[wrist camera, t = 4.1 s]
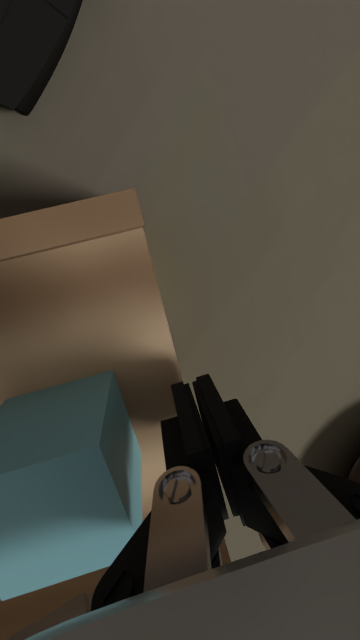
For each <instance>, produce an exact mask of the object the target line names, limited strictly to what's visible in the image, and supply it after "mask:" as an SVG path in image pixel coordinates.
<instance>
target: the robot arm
mask: <svg viewBox="0 0 360 640" xmlns="http://www.w3.org/2000/svg"><path fill="white" fill-rule="evenodd" d="M196 380H197V381H194V382H192V383H193V387H194V391H195V395H196V399H197V403H198V407H199V411H200V415H201V418H200V415H199V412H198V409H197V406H196V403H195V400H194V398H193V395H192V392H191V389H190V386H189V383H187V384H183V381H182V382H179V383H175V384H172V385H171V390H172V394H173V399H174V403H175V408H176V412H177V416H176V417H172V418H169V419H166V420H162V421H160V425H161V433H162V441H163V449H164V457H165V465H166V471H165V472H164V473H163V474H162V475H161V476H160V477H159V478H158V480H157V481H156V483H155V486H154V490H153V500H152V510H151V511H150V513H149V514H148V515H147V517H146V518H145V519H144V521H143V522H142V523H141V525H140V526H139V528H138V529H137V530H136V532H135V533H134V534H133V536H132V537H131V538H130V540H129V541H128V542H127V544H126V545H125V546H124V548H123V549H122V550H121V552H120V553H119V554H118V556H117V557H116V559H115V560H114V561H113V563H112V564H111V565H110V567H109V568H108V569H107V571H106V572H105V573H104V575H103V576H102V578H101V579H100V581H99V583H98V584H97V586H96V588H95V590H94V591H92V592H91V593H89V594H87V595H86V593H85V591H84V592H82V593H80V594H79V595H77V596H75V597H74V598H72V599H70V600H69V601H67V602H66V603H64V604H62V605H61V606H59V607H57V608H56V609H54V610H53V611H51V612H49V613H48V614H46V615H44V616H43V617H41V618H39V619H38V620H36V621H35V622H33V623H31V624H30V625H28V626H26V627H25V628H23V629H21V630H20V631H18V632H17V633H15V634H13V635H12V636H10V637H9V638H8V639H6V640H360V483H358V482H355V481H352V480H349V479H346V478H342V477H339V476H336V475H333V474H330V473H327V472H324V471H321V470H317V469H314V468H311V467H308V466H305V465H303V464H302V463H301V462H300V461H299V460H298V459H297V458H296V457H295V456H294V455H293V453H292V452H291V451H290V450H289V449H288V448H287V447H285V446H284V445H283V444H281V443H279V442H276V441H272V440H262V439H261V437H260V436H259V434H258V432H257V431H256V429H255V428H254V426H253V424H252V423H251V421H250V419H249V418H248V416H247V415H246V413H245V411H244V410H243V408H242V406H241V405H240V403H239V402H238V400H237V399H232V400H229V401H226V402H223V401H222V399H221V397H220V395H219V393H218V391H217V389H216V387H215V385H214V383H213V381H212V379H211V377H210V376H209V374H206V375H203V376H199V377H196ZM201 419H202V420H201ZM215 464H216V465H215ZM216 467H217V469H216ZM217 470H218V473H219V476H220V479H221V482H222V485H223V488H224V490H225V493H226V496H227V499H228V502H229V505H230V508H231V511H232V514H233V516H234V517H235V516H238V515H240V518H241V521H242V524H243V526H245V525H246V526H247V527H249V528H251V529H253V530H255V531H257V532H258V533H259V536H260V539H261V541H262V543H263V545H264V546H265V548H266V551H263V552H260V553H257V554H254V555H251V556H248V557H245V558H242V559H239V560H236V561H234V562H231V563H228V564H225V565H222V558H221V552H220V549H219V547H220V545H221V543H222V541H223V539H224V536H225V534H226V528H225V524H224V520H225V519H229V517H228V513H227V509H226V505H225V501H224V497H223V493H222V489H221V485H220V481H219V477H218V473H217Z"/></svg>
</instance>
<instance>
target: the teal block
mask: <svg viewBox="0 0 360 640" xmlns="http://www.w3.org/2000/svg"><path fill="white" fill-rule="evenodd" d="M142 522H143V521H142V468H141V450H140V447H139V444H138V442H137V439H136V436H135V433H134V430H133V427H132V424H131V421H130V418H129V415H128V413H127V410H126V407H125V404H124V401H123V398H122V395H121V392H120V389H119V387H118V384H117V381H116V378H115V375H114V372H113V370H111V371H107V372H104V373H100V374H96V375H93V376H89V377H86V378H82V379H78V380H75V381H71V382H67V383H64V384H60V385H57V386H53V387H49V388H46V389H42V390H38V391H35V392H31V393H28V394H24V395H20V396H17V397H13V398H10V399H6V400H5V401H4V402H3V404H2V405H1V406H0V599H1V601H4V600H7V599H10V598H13V597H16V596H20V595H23V594H26V593H29V592H32V591H35V590H38V589H41V588H44V587H47V586H50V585H53V584H56V583H59V582H62V581H65V580H68V579H72V578H75V577H78V576H81V575H84V574H87V573H90V572H93V571H96V570H99V569H102V568H105V567H108V566H110V565H111V564H112V563H113V561H114V560H115V559H116V557H117V556H118V554H119V553H120V552H121V550H122V549H123V548H124V546H125V545H126V544H127V542H128V541H129V540H130V538H131V537H132V536H133V534H134V533H135V532H136V530H137V529H138V528H139V526H140V525H141V523H142Z"/></svg>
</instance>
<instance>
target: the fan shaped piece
mask: <svg viewBox="0 0 360 640" xmlns="http://www.w3.org/2000/svg"><path fill="white" fill-rule="evenodd" d="M82 1H83V0H0V104H2V105H5V106H7V107H8V108H9V109H11V110H13V109H16V108H17V109H18V110H20V111H21V112H22V113H23V114H24V115H25V116H28V115H29V114H30V112H31V111H32V109H33V108H34V106H35V105H36V103H37V101H38V99H39V98H40V96H41V94H42V92H43V91H44V89H45V87H46V85H47V83H48V82H49V80H50V78H51V76H52V74H53V72H54V70H55V68H56V66H57V64H58V62H59V60H60V58H61V56H62V54H63V52H64V50H65V47H66V45H67V42H68V40H69V37H70V35H71V32H72V30H73V27H74V24H75V21H76V19H77V16H78V13H79V10H80V7H81V4H82Z"/></svg>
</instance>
